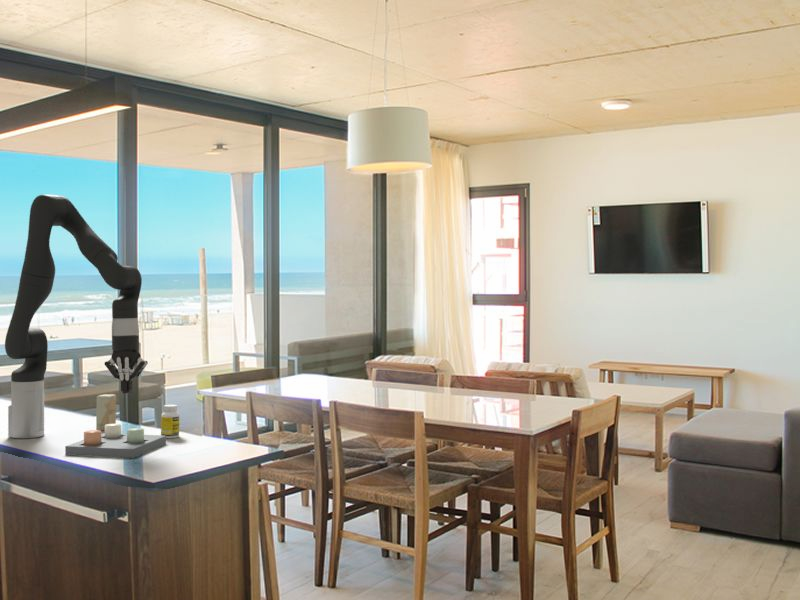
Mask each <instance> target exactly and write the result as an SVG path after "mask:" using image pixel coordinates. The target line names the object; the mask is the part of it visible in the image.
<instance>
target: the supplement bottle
mask: <svg viewBox="0 0 800 600" xmlns="http://www.w3.org/2000/svg"><path fill="white" fill-rule="evenodd" d="M177 410H178V405H177V404H165V405H163V411H164V412H162V413H161V416H160V417H161V419H160V421H161V423H160V424H161V425H160V435H163V436H166V439H175V438H178V437H179V436H180V413H179V412H178V411H177Z"/></svg>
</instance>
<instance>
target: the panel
mask: <svg viewBox="0 0 800 600" xmlns="http://www.w3.org/2000/svg"><path fill="white" fill-rule="evenodd" d="M166 444H167V438H166V436H163V435H161V434H159V435H157V434H144V442H143V443H140V444H134V443H127V433H121V437H120V438H117V439H114V438H105V432H103V433H102V432H101V445H98V446H84V439H83V440H80V441H76V442H73V443H71V444H68V445H67V444H66V445H65V449H64V450H65V456H82V457H84V456H85V457H86V456H87V457H102V458H105V457H106V458H122V459H123V458H124V459H130V458H131V459H133V458H137V457H138V456H140V455H143V454H146V453H148V452H150V451H153V450H155V449H157V448H159V447H162V446H164V445H166Z"/></svg>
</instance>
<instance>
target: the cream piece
mask: <svg viewBox="0 0 800 600" xmlns="http://www.w3.org/2000/svg"><path fill="white" fill-rule="evenodd" d="M104 433H105V438H114V439H117V438H120V437H121V434H122V424H121V423H116V424H106V425H105V430H104Z"/></svg>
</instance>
